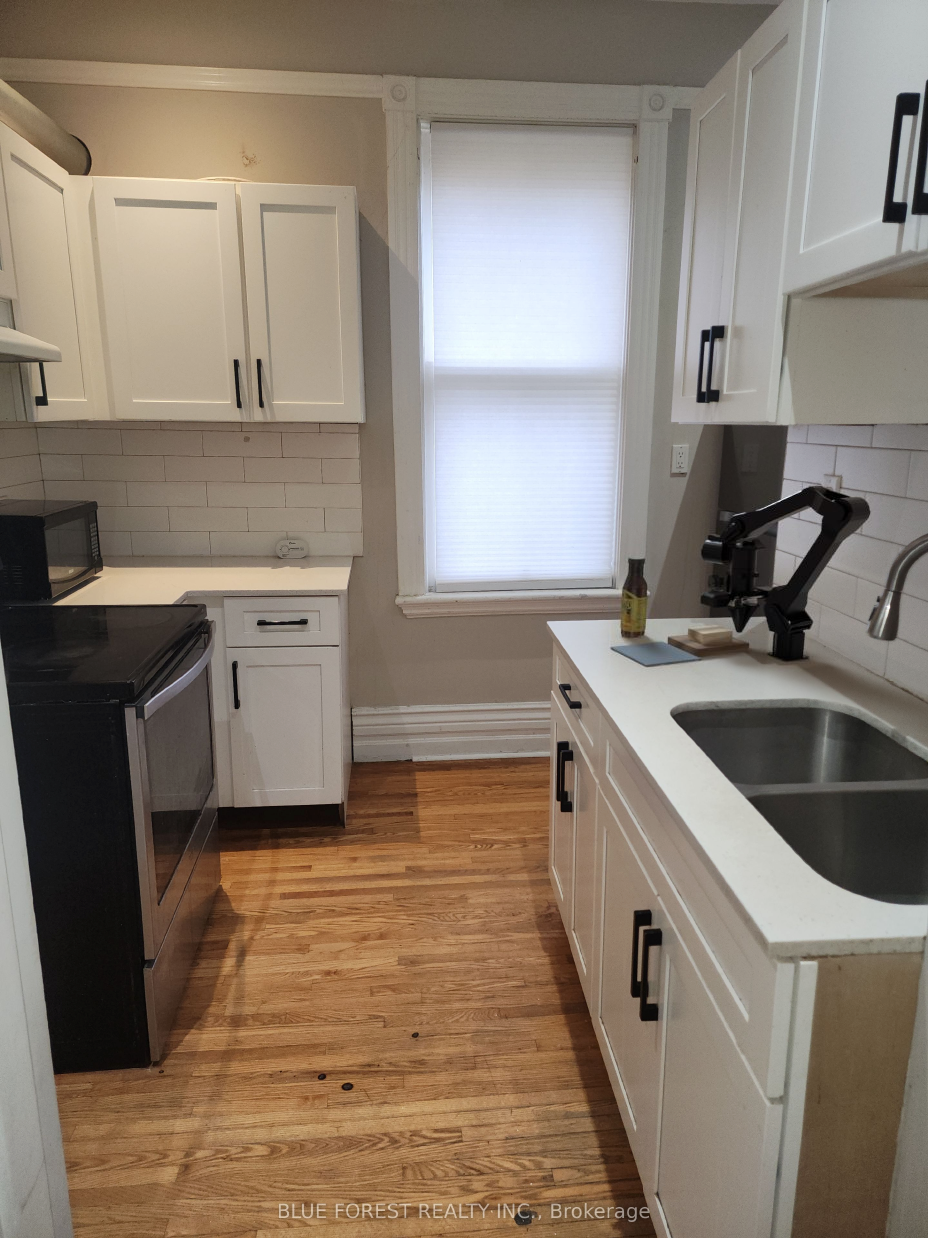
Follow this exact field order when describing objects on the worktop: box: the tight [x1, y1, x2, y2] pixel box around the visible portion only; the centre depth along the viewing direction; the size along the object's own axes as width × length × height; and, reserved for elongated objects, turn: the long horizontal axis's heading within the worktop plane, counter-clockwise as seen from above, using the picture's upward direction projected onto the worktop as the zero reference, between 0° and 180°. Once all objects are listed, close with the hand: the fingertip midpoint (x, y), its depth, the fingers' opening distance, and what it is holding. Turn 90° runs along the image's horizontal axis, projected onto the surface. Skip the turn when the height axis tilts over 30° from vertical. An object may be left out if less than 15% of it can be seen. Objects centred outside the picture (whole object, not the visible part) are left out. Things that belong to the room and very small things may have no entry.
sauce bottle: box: [619, 555, 648, 638], centre depth 201 cm, size 6×6×20 cm
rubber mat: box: [610, 641, 702, 667], centre depth 186 cm, size 16×14×1 cm
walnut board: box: [667, 634, 750, 658], centre depth 190 cm, size 12×14×2 cm
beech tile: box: [687, 624, 734, 644], centre depth 190 cm, size 6×8×2 cm
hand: (738, 632), depth 192 cm, fingers closed
